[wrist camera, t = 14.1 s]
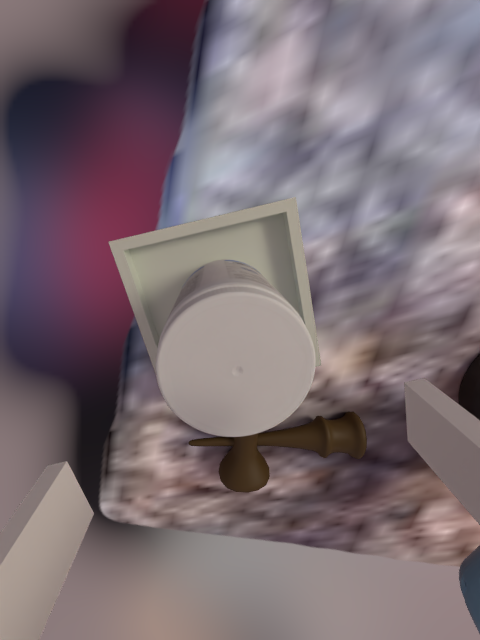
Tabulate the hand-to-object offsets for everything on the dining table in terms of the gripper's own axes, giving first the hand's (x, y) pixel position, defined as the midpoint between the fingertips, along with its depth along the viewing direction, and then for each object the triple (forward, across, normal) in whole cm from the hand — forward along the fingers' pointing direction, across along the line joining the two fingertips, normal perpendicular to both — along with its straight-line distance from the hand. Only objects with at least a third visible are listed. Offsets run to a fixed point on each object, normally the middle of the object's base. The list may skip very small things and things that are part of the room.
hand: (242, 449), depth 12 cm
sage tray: (+21, 0, 0) cm, 21 cm away
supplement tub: (+21, 0, 0) cm, 21 cm away
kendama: (+22, -2, +16) cm, 27 cm away
